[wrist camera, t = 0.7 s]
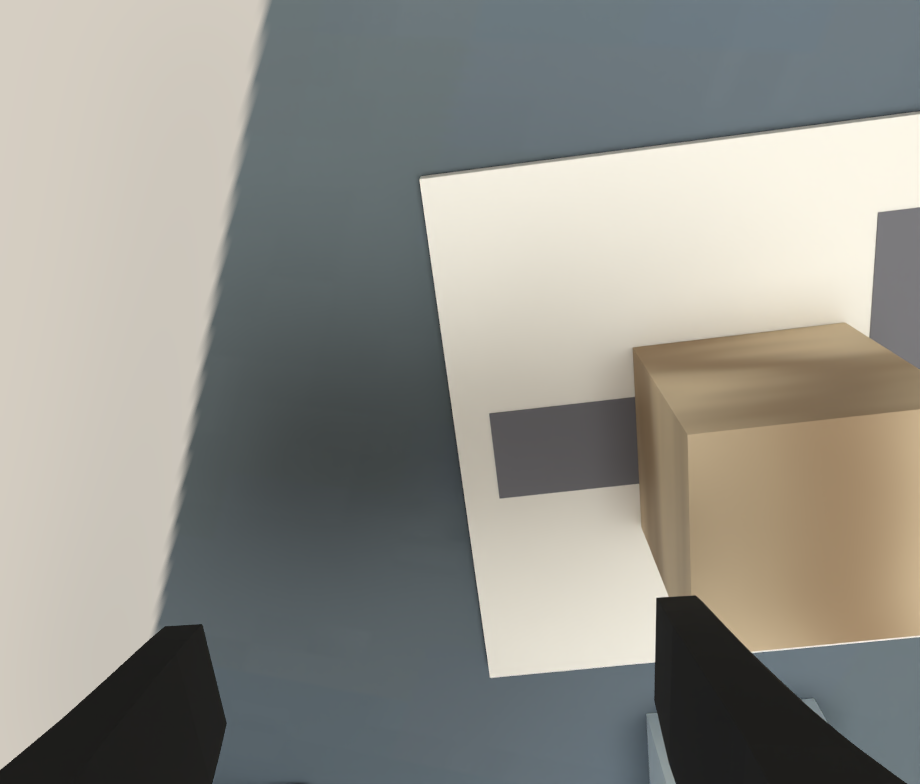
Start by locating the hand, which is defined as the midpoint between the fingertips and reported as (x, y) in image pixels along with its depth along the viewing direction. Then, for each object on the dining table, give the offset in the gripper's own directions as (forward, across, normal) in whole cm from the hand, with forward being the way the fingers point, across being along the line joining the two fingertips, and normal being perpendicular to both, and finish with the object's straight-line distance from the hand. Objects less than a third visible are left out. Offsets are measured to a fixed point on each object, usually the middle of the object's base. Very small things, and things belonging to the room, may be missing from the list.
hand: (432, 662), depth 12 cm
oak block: (+8, -7, 0) cm, 11 cm away
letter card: (+8, -7, 0) cm, 11 cm away
